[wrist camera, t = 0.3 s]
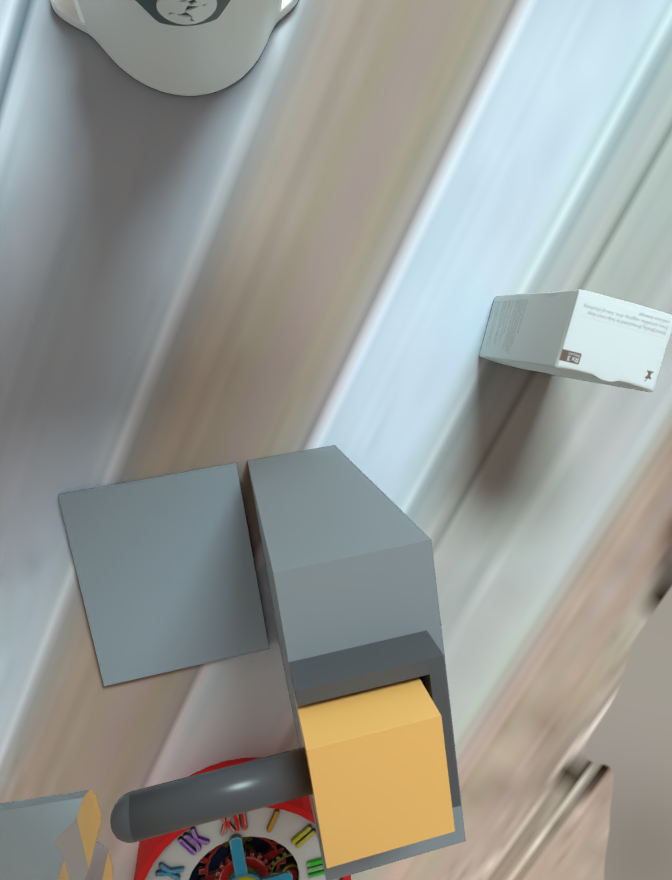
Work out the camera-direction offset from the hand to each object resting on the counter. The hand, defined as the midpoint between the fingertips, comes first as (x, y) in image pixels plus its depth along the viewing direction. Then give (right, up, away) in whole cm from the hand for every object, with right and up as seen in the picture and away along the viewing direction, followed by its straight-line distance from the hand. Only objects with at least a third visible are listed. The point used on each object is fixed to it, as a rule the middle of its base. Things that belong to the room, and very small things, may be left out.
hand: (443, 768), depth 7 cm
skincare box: (+16, +14, +50) cm, 54 cm away
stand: (-4, -6, +49) cm, 50 cm away
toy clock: (-11, -37, +54) cm, 66 cm away
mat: (-16, -8, +47) cm, 51 cm away
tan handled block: (-5, -11, +23) cm, 26 cm away
